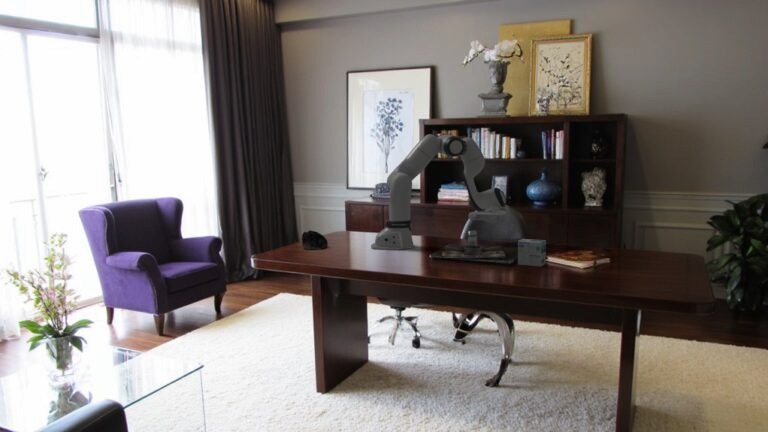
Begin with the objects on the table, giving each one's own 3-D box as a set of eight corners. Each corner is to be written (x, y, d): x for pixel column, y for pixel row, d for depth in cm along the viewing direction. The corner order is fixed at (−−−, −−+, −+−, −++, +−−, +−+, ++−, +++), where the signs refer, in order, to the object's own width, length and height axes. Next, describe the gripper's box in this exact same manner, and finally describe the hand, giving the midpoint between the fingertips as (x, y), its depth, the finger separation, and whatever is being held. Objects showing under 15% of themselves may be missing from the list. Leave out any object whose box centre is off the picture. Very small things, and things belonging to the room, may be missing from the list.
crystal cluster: (332, 248, 296) (332, 229, 296) (313, 250, 286) (313, 231, 286) (316, 247, 305) (315, 229, 305) (296, 249, 295) (296, 230, 295)
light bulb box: (546, 264, 244) (546, 239, 243) (541, 267, 239) (541, 242, 237) (522, 261, 250) (522, 238, 249) (517, 264, 245) (517, 240, 243)
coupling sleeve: (467, 251, 274) (467, 231, 273) (467, 250, 279) (467, 230, 277) (477, 252, 274) (477, 231, 272) (476, 250, 278) (476, 230, 277)
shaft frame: (442, 258, 260) (441, 247, 260) (442, 254, 270) (442, 243, 270) (505, 258, 257) (505, 247, 256) (503, 254, 266) (503, 243, 266)
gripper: (474, 208, 301) (463, 211, 290) (510, 209, 290) (501, 213, 279) (474, 219, 302) (463, 223, 290) (511, 221, 291) (501, 225, 279)
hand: (482, 218), depth 284 cm, fingers open, 8 cm apart
